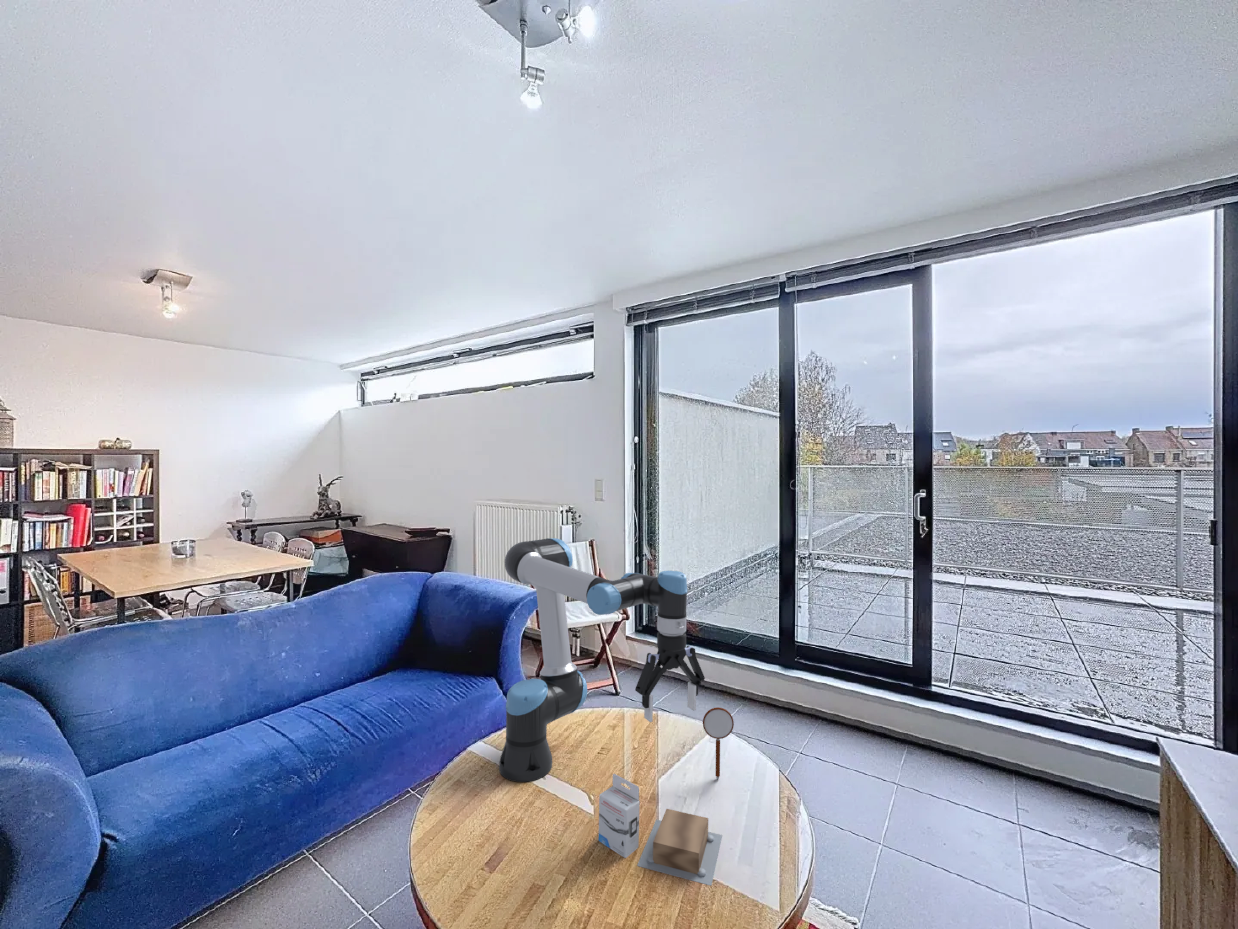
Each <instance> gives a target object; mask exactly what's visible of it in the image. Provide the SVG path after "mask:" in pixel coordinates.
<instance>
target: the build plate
mask: <svg viewBox="0 0 1238 929" xmlns="http://www.w3.org/2000/svg"><path fill="white" fill-rule="evenodd" d="M661 821H662V819H660V820H659V819H655V822H654V825H653V827H652V829H651V831H650V833H649V835H648V838H647V841H646V844H645V846H644V849H643V850H642V853H641V854H640V857H639V860H638V862H637V865H636V866H637V867H640V868H643V869H647V870H651V871H655V872H658V873H661V874H666V875H669V876H673V877H678V878H682V879H685V880H688V881H692V882H695V883H700V884H704V885H707V886H712V885H713V880H714V875H715V871H716V866H717V862H718V857H719V853H720V847H721V843H722V838H723V835H722V834H720V833H715V832H710V831H708V838H707V844H706V848H705V852H704V856H703V860H702V864H701V868H700V869H699V872H698V874H694V873H690V872H686V871H682V870H679V869H675V868H671V867H667V866H664V865H660V864H656V863H654V861H653V841H654V839H655V836H656V834H657V831H658V829H659V826H660V824H661Z"/></svg>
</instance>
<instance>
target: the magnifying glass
mask: <svg viewBox="0 0 1238 929" xmlns="http://www.w3.org/2000/svg"><path fill="white" fill-rule="evenodd" d="M734 723H735V722H734V718H733V715H732V714H731V713H730V711H728V710H727V709H725V708H722V707H713V708H711V709H709V710H707V712H706V713H705V714H704V715H703V719H702V726H703V730H704V732H705V733H706V735H708V737H710V738H712V739H715V778H716V780H720V777H721V739H722V740H723V739H725V738H727V737H728V736H729V735H730V734H731V733H732V731H734V730H733V729H734V725H735V724H734Z"/></svg>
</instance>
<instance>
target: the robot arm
mask: <svg viewBox="0 0 1238 929" xmlns="http://www.w3.org/2000/svg"><path fill="white" fill-rule="evenodd" d="M573 562H574V561H573V553H572V551H571V548H570V547H569V545H568V544H567V543H565V541H564V540H563V539H560V538H555V537H554V538H552V537H551V538H543V539H535V540H527V541H520V542H517V543H516V544H513V545H512V546H511V547H510V548H509V550H508V551H507V552H506V555H505V558H504V568H505V571H506V573H507V575H508V576H509V577H510V578H511V579H512V580H514V581H516V582H517V583H521V584H523V585H531V586H532V587H534V589H536V600H537V611H538V620H539V630H540V637H541V639H540V640H541V647H542V648H541V649H542V658H543V659H542V660H543V667H542V668H541V670H540V671H539V676H540V679H539V678H530V679H522V680H519V681H518V682H516V683H515V684H513V685H512V686H511V687H510V688H509V689H508V691H507V693H506V694H507V695H506V702H505V713H506V714H505V715H506V716H505V718H506V720H505V721H506V724H505V743H504V746H503V748H502V752H501V755H500V758H499V761H498V762H499V763H498V764H499V766H498V767H499V768H498V772H499V774H500V775H501V776H502V777H503V778H505V779H507V780H509V781H512V782H517V783H519V782H520V783H522V782H525V783H526V782H530V781H531V782H532V781H536V780H539V779H540V778H543V777H544V776H546V775H547V774H549V772H550V771H551V770H552V769H553V755H552V751H551V749H550V746H549V742H548V739H547V734H548V733H547V727H548V724H550V723H552V722H555V721H556V720H559V719H562V718H563V717H565V716H567V715H570V714H573V713H574V712H576V711H577V710H578V709H581V707H582V706H583V705H584V703H585V702H586V699H587V695H588V684H587V681H586V679H585V678H584V674H583V673H582V672H581V671H580V670H578V666H577V665H576V664H575V663H574V662H572V655H571V646H570V637H569V636H570V635H569V627H568V625H569V624H568V618H567V610H566V609H567V608H566V600H565V596H566V597H568V598H572V599H573V600H577V601H580V602H582V603H583V604H584V603H585V604H587V606H588V607H589V609H590V610H591V612H592V613H593V614H595V615H598V616H601V615H602V616H603V615H611V614H614V613H615V612H618V611H621V610H624V609H628V608H632V607H635V606H639V605H643V604H644V605H649V606H653V607H657V622H656V623H657V625H656V630H657V631H658V632H657V633H656V636H657V637H656V638H657V640H656V644H657V653H651V652H647V654H646V661H645V663H644V665H643V669H642V672H641V673H640V676H639V679H638V681H637V683H636V685H635V687H634V688H635V690H634V691H635V692H636V693H637V694H639V695H641V705H642V707H643V708H644V712H643V713H644V716H643V718H644V719H645V720H646V721H648V722H649V723H652V722H653V717H654V716H653V711H654V709H653V708H654V702H653V700H654V695H653V694H652V692H653V691H654V690H655V687H656V686H657V684H658V682H659V681H660V680H661V678H662V676H663V674H666V672H667V671H671V670H673V669H674V670H675V669H679V668H680V669H681V671H682V672H683V673H684V674H685V675H686V678H688V680H689V682H687V702H686V703H687V704H686V705H687V708H689V709H690V710H691V711H692V712H693V711H694V712H695V711H696V710H697V696H698V695H699V686H701V685H702V682H704V681H705V679H706V677H705V675H704V672H703V670H702V668H701V665H700V663H699V660H698V658H697V656H696V649H695V648H694V647H693V646H690V645H687V633H686V632H687V599H688V598H687V597H688V582H687V581H688V580H687V575H686V574H685V573H684V572H682V571H678V570H662V571H660V572H659V573H658V576H653V575H647V574H643V573H639V572H626V573H624V575H623V576H622V577H621V578H620V579H614V580H610V579H607V578H603V577H601V576H597V575H595V574H591V573H588V572H586V571H583V570H580V569H577V568H573V567H571V566H572V565H573ZM685 657H687V659H688V662H689V664H690V666H691V668H692V669H691V668H690V667H689V665H688V663H687V662H686V661H685Z"/></svg>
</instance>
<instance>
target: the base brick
mask: <svg viewBox="0 0 1238 929" xmlns="http://www.w3.org/2000/svg"><path fill="white" fill-rule="evenodd" d="M708 832H709V818H708V817H704V816H701V815H696V814H691V813H688V812H683V811H678V810H675V809H670V808H666V809H665V811H664V814H663V816H662V819H661V824H660V826H659V829H658V831H657V834H656V836H655V839H654V841H653V861H654V863H656V864H660V865H664V866H667V867H671V868H675V869H679V870H682V871H686V872H690V873H694V874H698V872H699V869H700V868H701V864H702V860H703V856H704V852H705V848H706V844H707V838H708Z"/></svg>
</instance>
